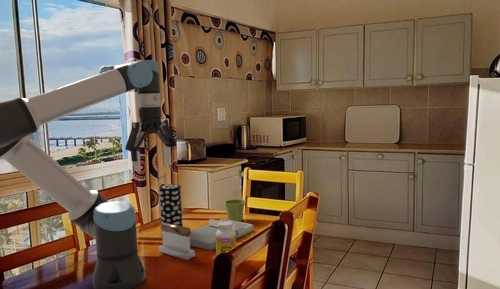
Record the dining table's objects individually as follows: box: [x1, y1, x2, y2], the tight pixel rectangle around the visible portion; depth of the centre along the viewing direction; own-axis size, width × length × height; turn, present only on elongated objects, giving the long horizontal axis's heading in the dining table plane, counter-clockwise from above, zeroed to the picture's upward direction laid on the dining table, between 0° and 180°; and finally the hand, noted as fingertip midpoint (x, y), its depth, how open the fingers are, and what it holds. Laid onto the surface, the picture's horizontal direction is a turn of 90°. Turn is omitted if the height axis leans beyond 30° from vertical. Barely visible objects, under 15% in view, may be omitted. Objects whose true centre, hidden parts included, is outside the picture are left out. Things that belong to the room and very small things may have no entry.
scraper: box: [158, 222, 196, 261], centre depth 145 cm, size 4×14×10 cm, turn 53°
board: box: [189, 224, 239, 251], centre depth 159 cm, size 16×16×2 cm
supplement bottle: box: [215, 221, 237, 255], centre depth 138 cm, size 7×7×13 cm
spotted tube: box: [158, 184, 184, 239], centre depth 165 cm, size 8×8×20 cm
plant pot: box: [223, 198, 246, 222], centre depth 183 cm, size 9×9×9 cm
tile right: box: [232, 223, 244, 231], centre depth 165 cm, size 6×6×2 cm
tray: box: [218, 218, 254, 238], centre depth 170 cm, size 10×16×2 cm, turn 53°
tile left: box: [208, 218, 222, 227], centre depth 169 cm, size 6×6×2 cm
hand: (153, 167), depth 144 cm, fingers open, 13 cm apart
